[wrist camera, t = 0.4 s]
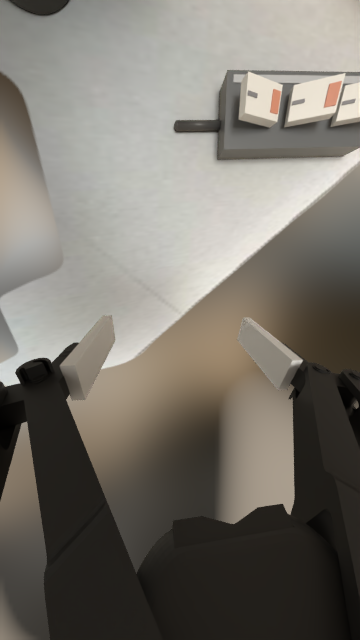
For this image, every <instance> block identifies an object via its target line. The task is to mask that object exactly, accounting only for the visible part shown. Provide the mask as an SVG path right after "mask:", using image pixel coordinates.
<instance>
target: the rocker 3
mask: <svg viewBox="0 0 360 640" xmlns="http://www.w3.org/2000/svg"><path fill="white" fill-rule="evenodd" d="M355 122H360V82H359V83H355V84H350V85H346V86H345V87H344V88H343V89H342V90H341V93H340V97H339V101H338V105H337V109H336V112H335V114H334V115H333V118H332V122H331V126H330V127H333V126H338V125H344V124H349V123H355Z"/></svg>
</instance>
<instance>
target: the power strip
mask: <svg viewBox="0 0 360 640" xmlns="http://www.w3.org/2000/svg"><path fill="white" fill-rule="evenodd" d="M248 71H249V70H227V73H226V76H225V79H224V81H223V84H222V87H221V90H220V103H219V120H177V121H176V122H175V124H174V128H175V130H176V131H217V130H219V132H218V160H221V159H258V158H295V157H332V156H344V155H346V154H348V153H350V152H352V151H354V150H356V149H358V148H360V122H355V123H349V124H344V125H338V126H333V127H330V126H331V122H332V118H333V116H332V117H331V118H330V119H326V120H321V121H316V122H310V123H305V124H300V125H295V126H290V127H284V125H285V119H286V113H287V107H288V101H289V95H290V92H291V90H292V88H293V86H294V85H296V84H301V83H305V82H309V81H313V80H318V79H322V78H326V77H330V76H335V75H339V74H343V73H346V74H345V78H344V82H343V85H342V89H343V88H344V87H345V86H346V85H350V84H355V83H359V82H360V72H312V71H249V72H251V73H254V74H256V75H259V76H261V77H264V78H266V79H269V80H271V81H274V82H277V83H279V84H282V85H283V87H282V94H281V100H280V107H279V114H278V120H277V123H275V124H274V125H273V126H272V127H270V128H269V127H265V126H261V125H258V124H254V123H250V122H246V121H242V120H239V107H240V93H241V81H242V79H243V78H244V77H245V75H246V74H247V73H248ZM342 89H341V90H342Z"/></svg>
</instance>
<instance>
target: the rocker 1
mask: <svg viewBox="0 0 360 640" xmlns="http://www.w3.org/2000/svg"><path fill="white" fill-rule="evenodd" d="M282 87H283V85H282V84H279V83H277V82H274V81H271V80H269V79H266V78H264V77H261V76H259V75H256V74H254V73H251V72H249V71H248V73H247V74H246V75H245V77H244V78H243V79H242V81H241V93H240V107H239V120H242V121H246V122H250V123H254V124H258V125H261V126H265V127H269V128H270V127H272V126H273V125H274V124H275V123H277V120H278V114H279V107H280V100H281V94H282Z"/></svg>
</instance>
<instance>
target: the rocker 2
mask: <svg viewBox="0 0 360 640" xmlns="http://www.w3.org/2000/svg"><path fill="white" fill-rule="evenodd" d="M345 74H346V73H343V74H339V75H335V76H330V77H326V78H322V79H318V80H313V81H309V82H305V83H301V84H296V85H294V86H293V88H292V90H291V92H290V95H289V101H288V107H287V113H286V119H285V125H284V127H290V126H295V125H300V124H305V123H310V122H316V121H321V120H326V119H330V118H331V117H332V116H333V115H334V114H335V112H336V109H337V105H338V101H339V97H340V93H341V89H342V85H343V82H344V78H345Z"/></svg>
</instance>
